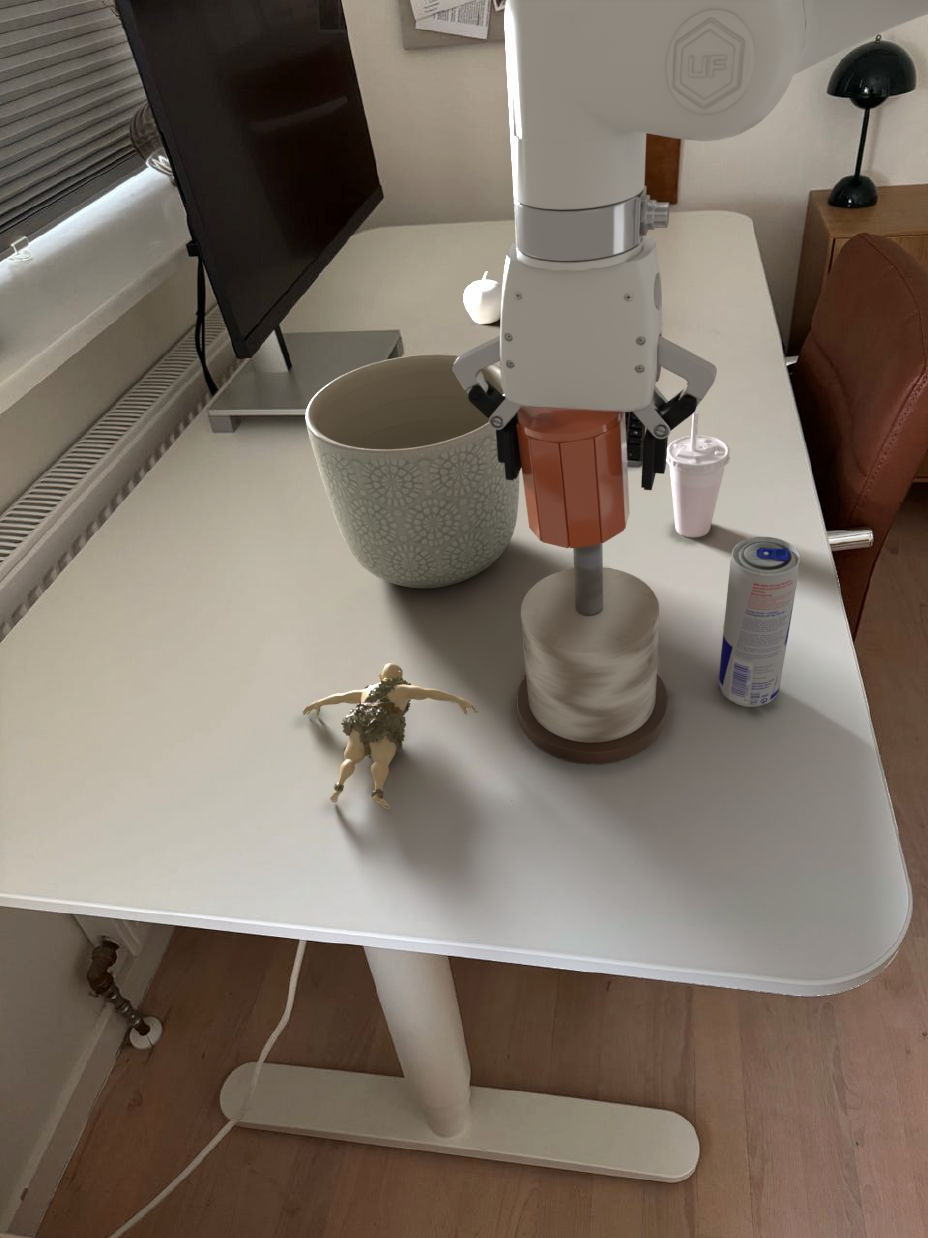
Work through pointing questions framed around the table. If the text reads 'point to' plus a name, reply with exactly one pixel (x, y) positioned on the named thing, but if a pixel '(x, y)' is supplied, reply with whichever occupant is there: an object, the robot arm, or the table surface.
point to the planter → (413, 471)
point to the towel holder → (591, 663)
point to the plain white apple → (484, 300)
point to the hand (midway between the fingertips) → (581, 475)
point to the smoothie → (696, 479)
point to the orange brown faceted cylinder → (574, 474)
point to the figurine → (379, 723)
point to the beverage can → (757, 619)
